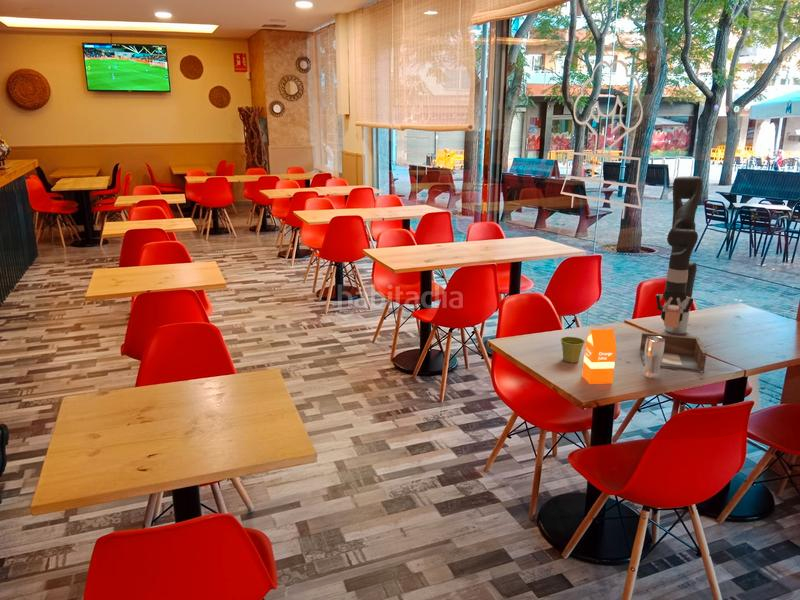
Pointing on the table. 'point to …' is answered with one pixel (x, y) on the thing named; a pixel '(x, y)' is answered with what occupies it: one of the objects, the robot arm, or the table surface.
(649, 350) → the beer glass
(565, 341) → the plant pot
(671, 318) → the terracotta bar
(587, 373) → the orange juice
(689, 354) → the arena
